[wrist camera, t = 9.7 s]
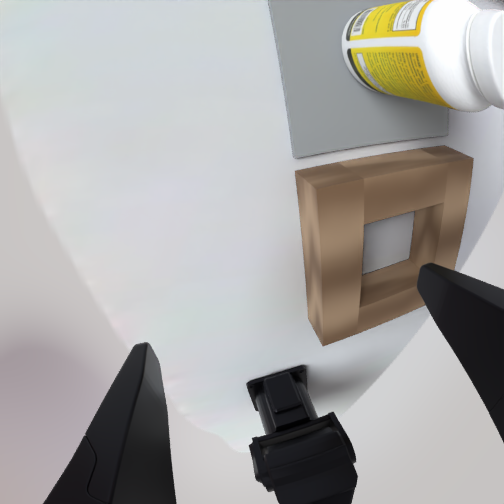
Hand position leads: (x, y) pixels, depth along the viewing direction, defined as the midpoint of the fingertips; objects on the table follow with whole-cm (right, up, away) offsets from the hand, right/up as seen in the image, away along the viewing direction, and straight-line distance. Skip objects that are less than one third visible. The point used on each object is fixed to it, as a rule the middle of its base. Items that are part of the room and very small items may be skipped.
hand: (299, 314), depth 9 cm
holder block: (+9, +3, +16) cm, 19 cm away
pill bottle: (+7, +15, +7) cm, 18 cm away
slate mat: (+7, +16, +7) cm, 19 cm away
